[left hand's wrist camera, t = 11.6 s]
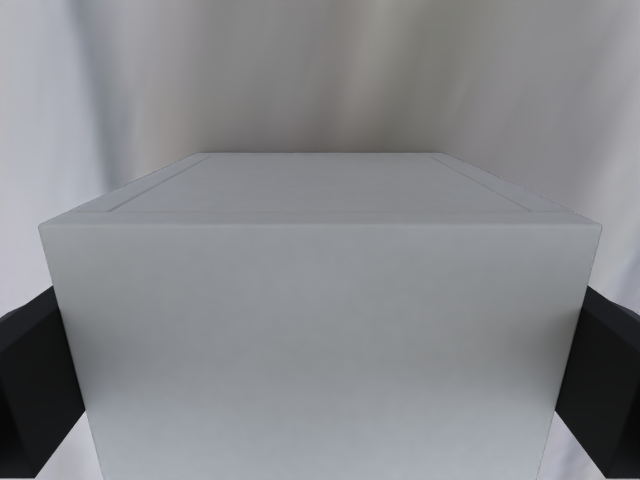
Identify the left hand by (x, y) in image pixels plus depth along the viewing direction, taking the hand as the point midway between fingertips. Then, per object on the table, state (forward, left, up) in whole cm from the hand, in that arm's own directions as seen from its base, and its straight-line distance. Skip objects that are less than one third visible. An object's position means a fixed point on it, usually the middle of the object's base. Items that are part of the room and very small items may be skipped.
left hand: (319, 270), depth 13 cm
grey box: (0, +6, -5) cm, 8 cm away
